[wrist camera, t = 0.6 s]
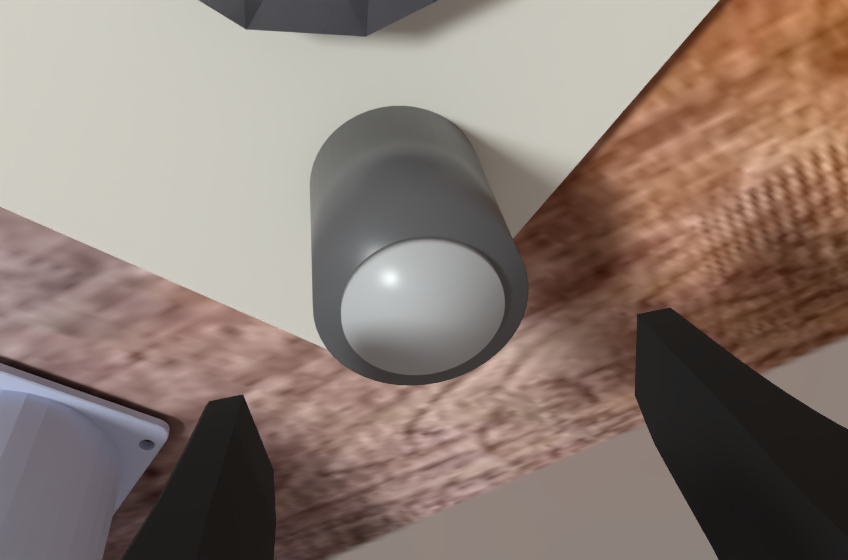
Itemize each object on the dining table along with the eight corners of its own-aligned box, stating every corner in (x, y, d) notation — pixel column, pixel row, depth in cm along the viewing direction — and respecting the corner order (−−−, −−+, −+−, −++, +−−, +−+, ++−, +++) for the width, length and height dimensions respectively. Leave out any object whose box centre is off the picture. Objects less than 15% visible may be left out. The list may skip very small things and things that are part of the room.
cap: (416, 282, 23) (446, 419, 18) (277, 211, 21) (271, 345, 16) (514, 162, 21) (575, 281, 17) (372, 70, 19) (396, 178, 14)
